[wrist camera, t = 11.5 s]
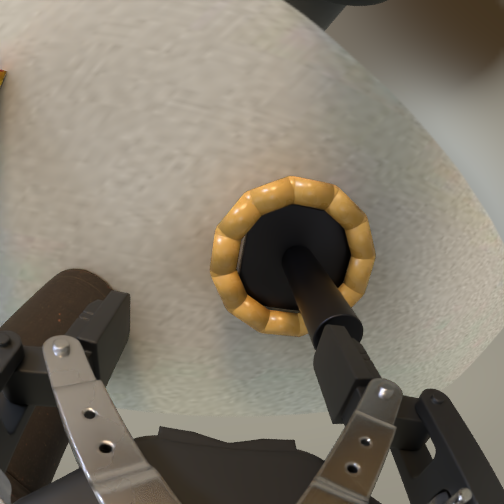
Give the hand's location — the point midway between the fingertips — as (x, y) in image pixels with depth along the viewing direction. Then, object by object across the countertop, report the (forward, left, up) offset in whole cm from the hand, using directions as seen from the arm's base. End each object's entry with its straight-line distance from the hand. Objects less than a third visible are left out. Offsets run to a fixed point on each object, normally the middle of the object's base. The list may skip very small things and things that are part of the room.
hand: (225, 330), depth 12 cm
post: (0, +5, -11) cm, 13 cm away
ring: (0, +5, -10) cm, 11 cm away
